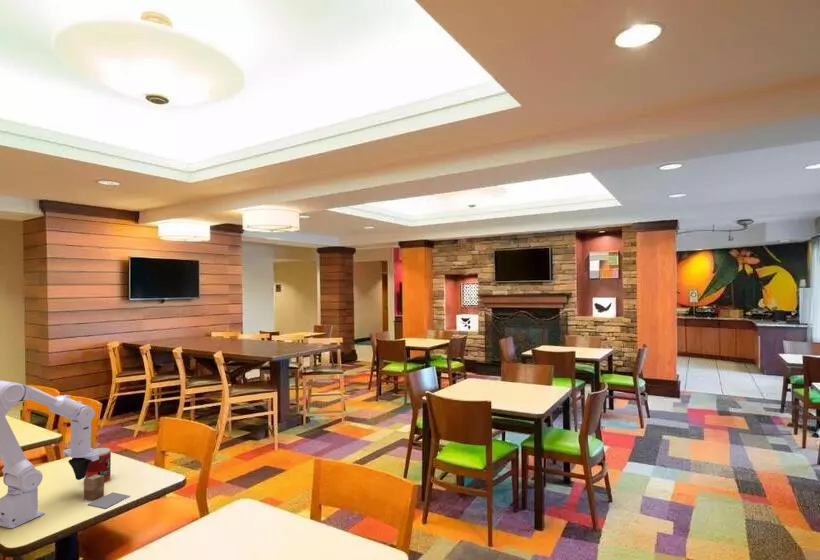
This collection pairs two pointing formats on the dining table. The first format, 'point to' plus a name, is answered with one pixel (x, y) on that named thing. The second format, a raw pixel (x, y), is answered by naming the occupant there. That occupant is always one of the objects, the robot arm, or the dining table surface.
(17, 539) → the dining table surface
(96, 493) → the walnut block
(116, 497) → the felt mat
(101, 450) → the canned food
